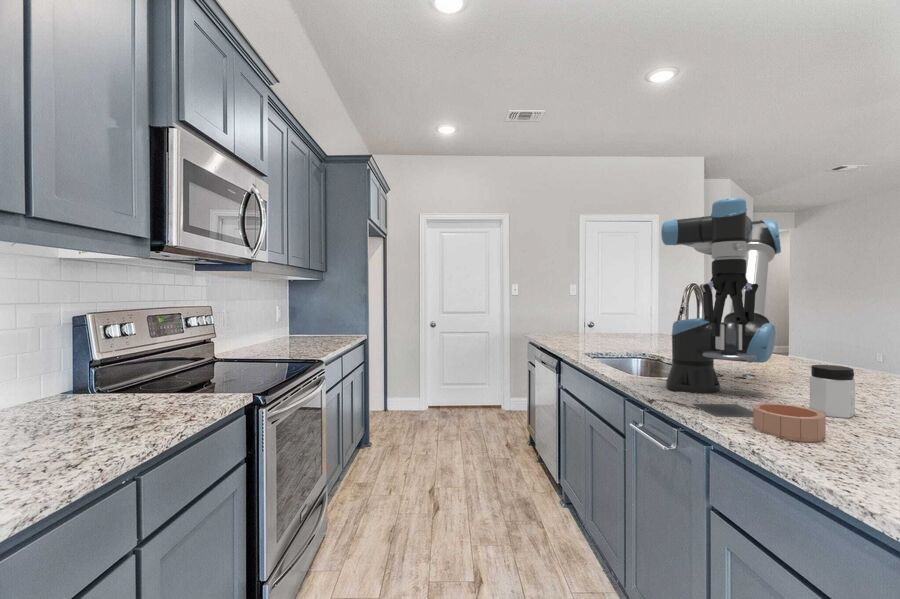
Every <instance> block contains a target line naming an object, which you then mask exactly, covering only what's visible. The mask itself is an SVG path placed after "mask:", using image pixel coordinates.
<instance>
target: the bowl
mask: <svg viewBox="0 0 900 599" xmlns="http://www.w3.org/2000/svg"><path fill="white" fill-rule="evenodd" d="M752 411H753V417H752V425H753V428H754V429H756V430H757V431H760V432H763V433H766V434H768V435H772V436H775V437H776V438H775V439H778V438H780V439H779V440H783V439H786V440H785V441H788V440H791V441H790V442H796V441H799V442H798V443H819V442H820V441H821V442H823V441H824V440H825V437H826V421H827V420H826V417H827V416H825V415H824V414H823V413H822V412H819V411H816V410H813V409H810V407H805V406H800V405H795V404H794V405H793V404H785V403H777V402H773V403H765V402H761V403H756V404H752ZM792 440H793V441H792Z"/></svg>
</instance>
